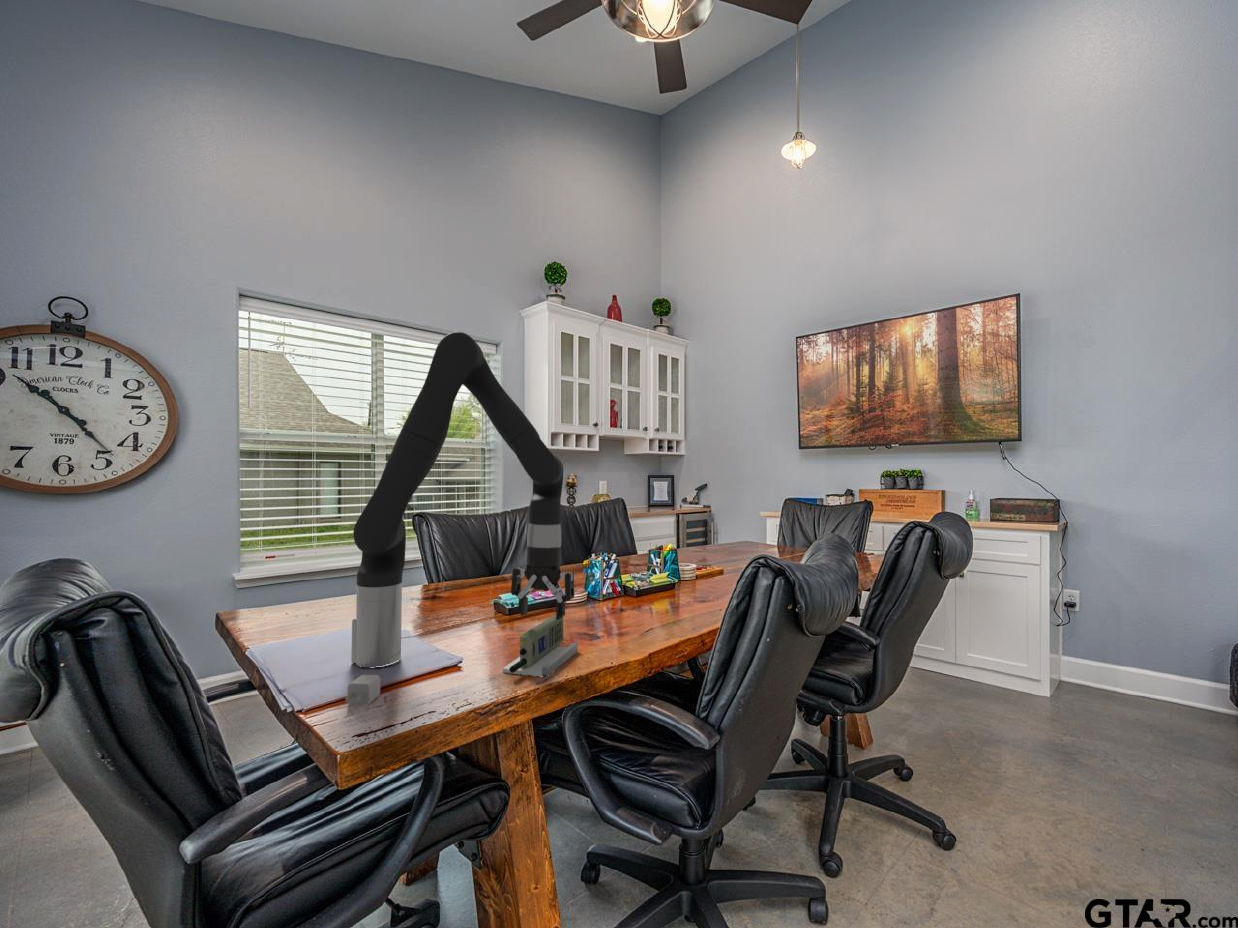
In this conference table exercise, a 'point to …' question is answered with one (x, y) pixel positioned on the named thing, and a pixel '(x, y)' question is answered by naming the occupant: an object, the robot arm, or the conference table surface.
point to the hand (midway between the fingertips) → (541, 616)
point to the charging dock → (546, 661)
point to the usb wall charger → (363, 690)
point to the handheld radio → (539, 642)
